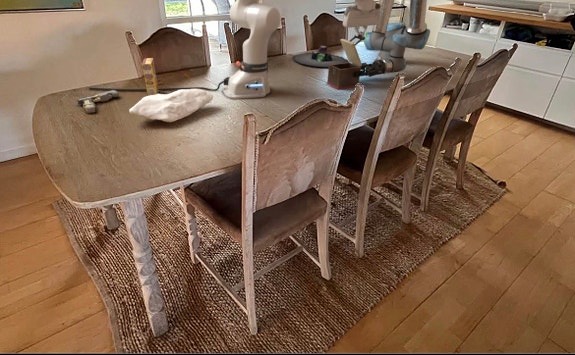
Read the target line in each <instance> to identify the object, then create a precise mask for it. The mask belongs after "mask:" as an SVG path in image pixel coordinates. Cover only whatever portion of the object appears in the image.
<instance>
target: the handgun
mask: <svg viewBox="0 0 575 355" xmlns="http://www.w3.org/2000/svg"><path fill="white" fill-rule="evenodd" d="M119 96H120V94H119V91H115V90H107V91H105V92H104V91H103V92H101V93H96V94H94V95H86V94H85V95H84V94H83V95H81V96H80V97H77V98H76V101H77V104H78V105H82V108H83V109H84V110H85V113H87V114H91V113H95V112H96V104H95V103H98V102H106V101H109V100H111V99H113V98H117V97H119Z"/></svg>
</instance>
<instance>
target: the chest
mask: <svg viewBox="0 0 575 355" xmlns="http://www.w3.org/2000/svg"><path fill="white" fill-rule="evenodd" d="M355 71H362V70H361V67H359V66H357V65H355V64H352V63H351V62H349V61H348V63H340V64H332V65H329V67H328V73H327V82H326V84H327V85H329V86H331V87H332V88H334V89H336V90H343V89H348V88H349V89H351V88H354V87H355V85H356V84H357V83H360V79H361V78H360V77H361V76H360V77H354V72H355Z"/></svg>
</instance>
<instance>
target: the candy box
mask: <svg viewBox="0 0 575 355" xmlns="http://www.w3.org/2000/svg"><path fill="white" fill-rule="evenodd" d="M141 66H142V73H143V78H144V82H145V87H146V88H145V89H147V91H146V92H147V96H150V95H156V94H159V91H160V90H158V89H159V84H158V79H157V73H156V66H155V62H154V58H153V57H151V58H150V57H149V58H146V57H145V58H143V60H142V63H141Z"/></svg>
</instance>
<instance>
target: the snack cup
mask: <svg viewBox="0 0 575 355" xmlns="http://www.w3.org/2000/svg"><path fill="white" fill-rule="evenodd" d="M371 33H372V31H367V32H365V36H364V37H365V39H366V36H367V35H368V34H371ZM365 39H364V40H363V45H365ZM366 49H367V50H369V49H368V48H366Z"/></svg>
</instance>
